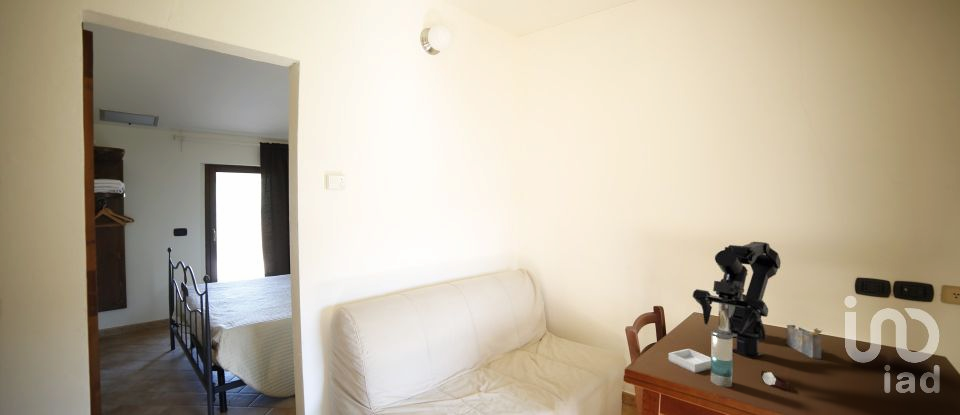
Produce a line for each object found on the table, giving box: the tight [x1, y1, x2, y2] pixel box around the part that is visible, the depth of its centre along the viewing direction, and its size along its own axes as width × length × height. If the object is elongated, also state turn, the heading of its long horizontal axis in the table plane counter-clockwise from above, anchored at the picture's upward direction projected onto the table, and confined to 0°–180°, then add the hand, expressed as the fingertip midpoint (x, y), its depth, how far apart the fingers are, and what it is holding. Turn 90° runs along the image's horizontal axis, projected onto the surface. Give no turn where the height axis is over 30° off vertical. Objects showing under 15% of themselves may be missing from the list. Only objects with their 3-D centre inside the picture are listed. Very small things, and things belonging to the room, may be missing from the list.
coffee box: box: [718, 293, 746, 338], centre depth 144 cm, size 9×6×16 cm
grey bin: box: [668, 348, 711, 374], centre depth 117 cm, size 9×9×2 cm
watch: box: [760, 370, 790, 390], centre depth 104 cm, size 8×5×4 cm, turn 5°
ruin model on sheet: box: [786, 324, 823, 360], centre depth 127 cm, size 11×3×10 cm, turn 176°
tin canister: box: [710, 329, 734, 388], centre depth 105 cm, size 5×5×14 cm
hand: (722, 328), depth 111 cm, fingers open, 9 cm apart
